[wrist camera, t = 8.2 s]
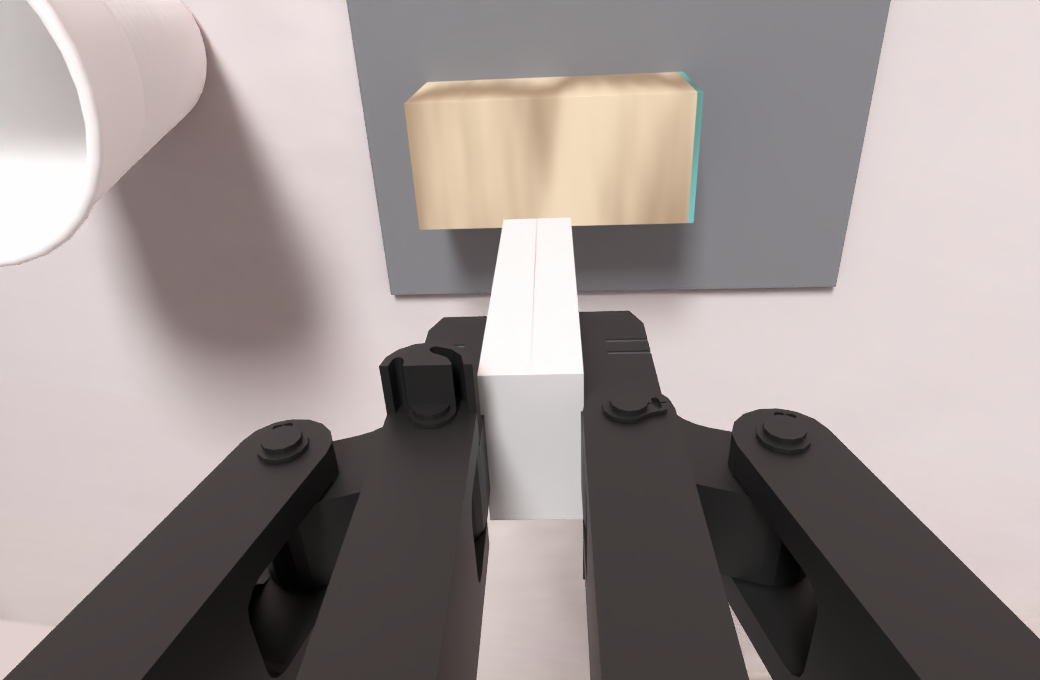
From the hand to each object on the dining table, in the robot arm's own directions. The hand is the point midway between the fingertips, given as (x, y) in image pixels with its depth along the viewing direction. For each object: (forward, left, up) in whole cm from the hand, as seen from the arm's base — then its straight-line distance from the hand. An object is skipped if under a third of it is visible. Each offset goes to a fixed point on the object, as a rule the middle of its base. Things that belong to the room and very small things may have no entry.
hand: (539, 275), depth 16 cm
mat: (+2, +2, -14) cm, 15 cm away
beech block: (+5, 0, -12) cm, 13 cm away
